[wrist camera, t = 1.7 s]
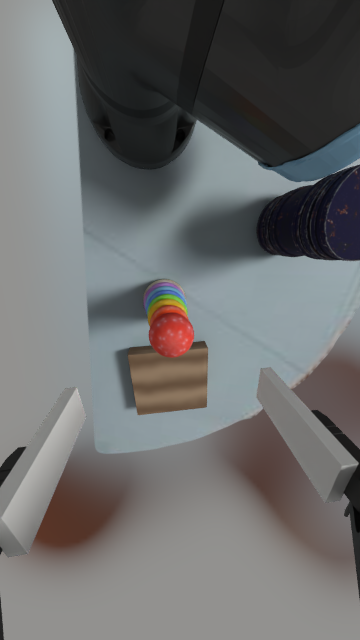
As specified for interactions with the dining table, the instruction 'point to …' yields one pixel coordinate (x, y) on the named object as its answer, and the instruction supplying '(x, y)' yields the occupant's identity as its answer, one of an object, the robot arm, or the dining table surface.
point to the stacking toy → (168, 318)
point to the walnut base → (169, 379)
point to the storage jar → (315, 219)
